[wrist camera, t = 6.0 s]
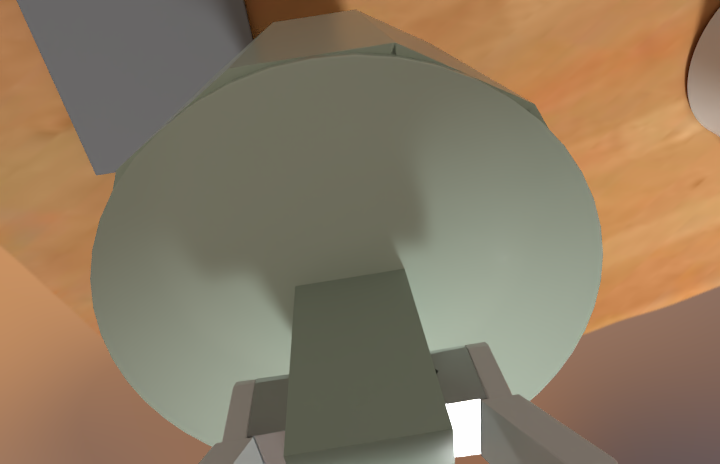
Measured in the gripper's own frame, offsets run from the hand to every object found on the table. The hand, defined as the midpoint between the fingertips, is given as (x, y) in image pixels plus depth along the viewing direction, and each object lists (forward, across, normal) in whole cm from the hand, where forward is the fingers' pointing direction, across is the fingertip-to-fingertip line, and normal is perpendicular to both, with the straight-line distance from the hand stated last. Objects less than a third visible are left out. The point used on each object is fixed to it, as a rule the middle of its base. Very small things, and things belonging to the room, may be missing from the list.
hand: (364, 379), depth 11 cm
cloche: (+15, 0, 0) cm, 15 cm away
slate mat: (+29, +12, -4) cm, 32 cm away
